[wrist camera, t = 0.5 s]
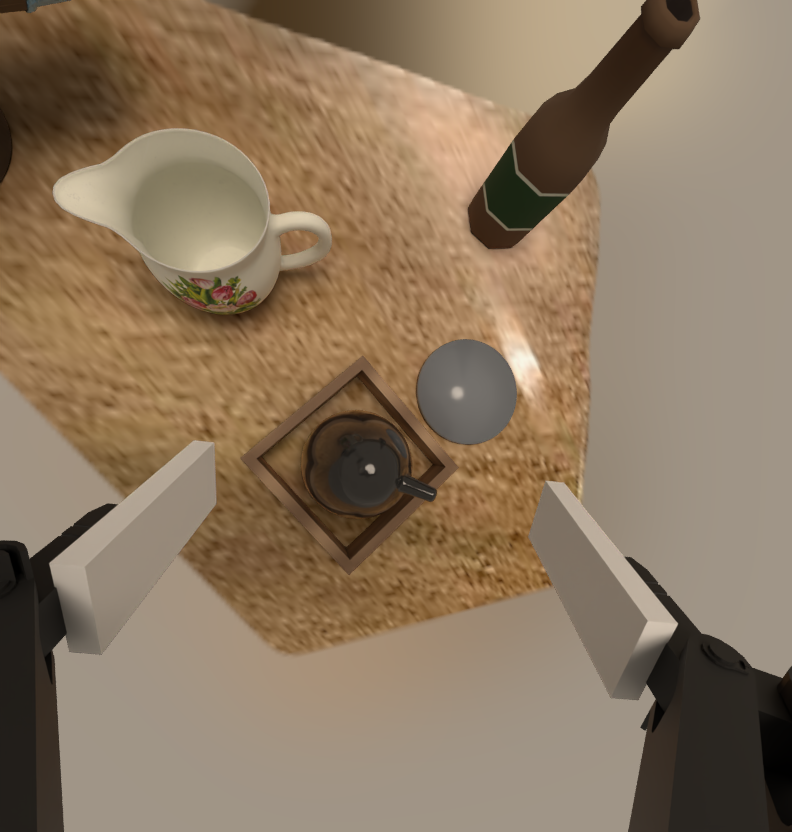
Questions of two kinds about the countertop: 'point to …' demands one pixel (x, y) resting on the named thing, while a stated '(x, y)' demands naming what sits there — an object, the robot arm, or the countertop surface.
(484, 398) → the coaster
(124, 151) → the pitcher
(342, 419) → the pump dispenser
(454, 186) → the countertop surface
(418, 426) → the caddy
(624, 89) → the beer bottle
